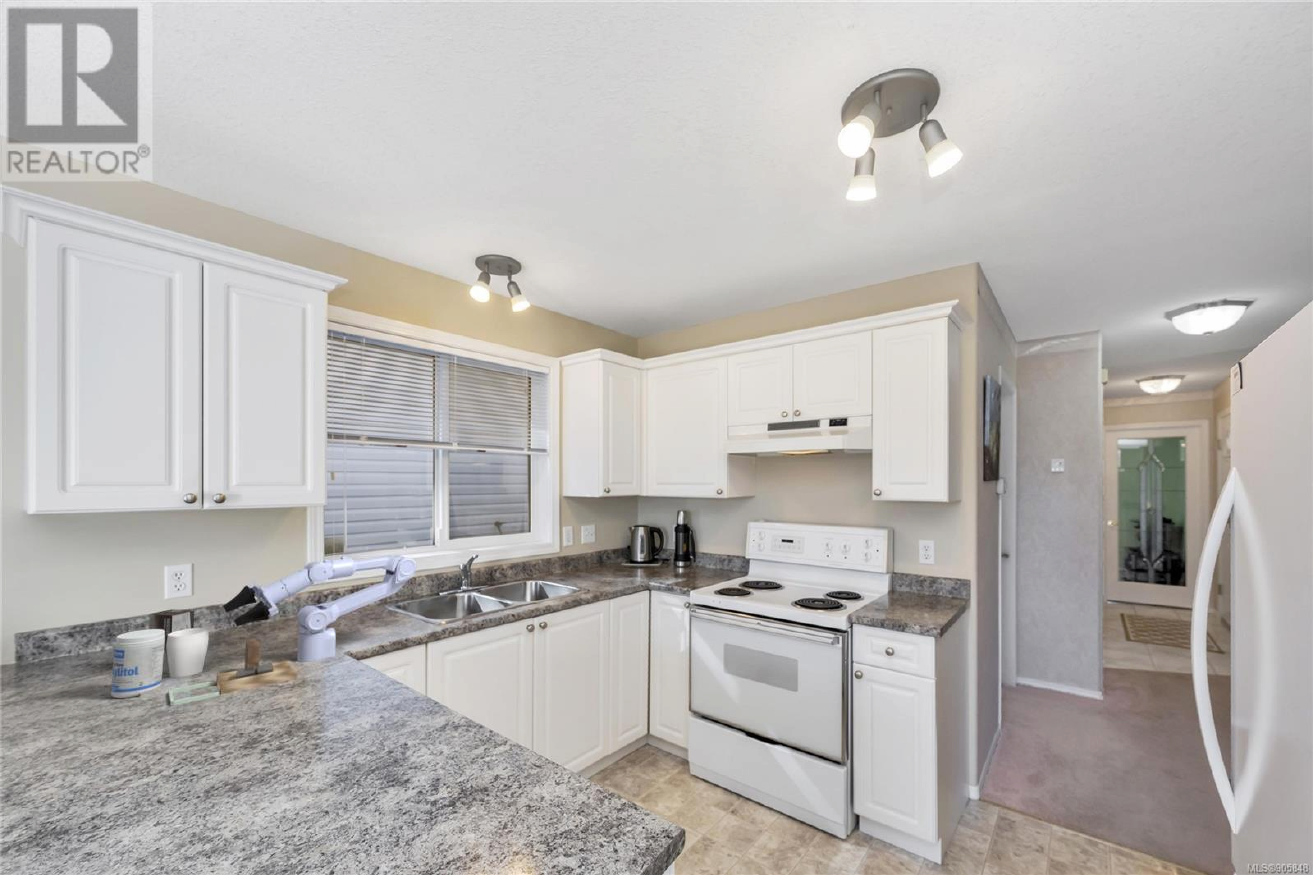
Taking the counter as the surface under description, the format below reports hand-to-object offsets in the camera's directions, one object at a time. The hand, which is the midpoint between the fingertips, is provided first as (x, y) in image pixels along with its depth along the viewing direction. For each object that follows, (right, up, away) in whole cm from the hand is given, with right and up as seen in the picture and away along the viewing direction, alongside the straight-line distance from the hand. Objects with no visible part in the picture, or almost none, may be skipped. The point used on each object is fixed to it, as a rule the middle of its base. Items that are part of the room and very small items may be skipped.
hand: (230, 616), depth 153 cm
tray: (+2, -16, -14) cm, 21 cm away
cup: (-13, -17, +2) cm, 22 cm away
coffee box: (-24, -18, +8) cm, 31 cm away
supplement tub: (-16, -17, -10) cm, 25 cm away
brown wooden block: (+5, -17, +1) cm, 18 cm away
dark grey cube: (+9, -15, -7) cm, 19 cm away
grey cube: (+12, -15, -4) cm, 20 cm away
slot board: (+11, -16, -6) cm, 21 cm away
